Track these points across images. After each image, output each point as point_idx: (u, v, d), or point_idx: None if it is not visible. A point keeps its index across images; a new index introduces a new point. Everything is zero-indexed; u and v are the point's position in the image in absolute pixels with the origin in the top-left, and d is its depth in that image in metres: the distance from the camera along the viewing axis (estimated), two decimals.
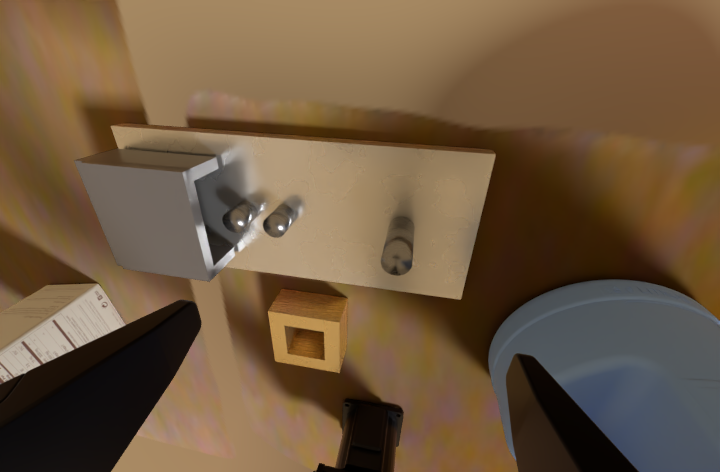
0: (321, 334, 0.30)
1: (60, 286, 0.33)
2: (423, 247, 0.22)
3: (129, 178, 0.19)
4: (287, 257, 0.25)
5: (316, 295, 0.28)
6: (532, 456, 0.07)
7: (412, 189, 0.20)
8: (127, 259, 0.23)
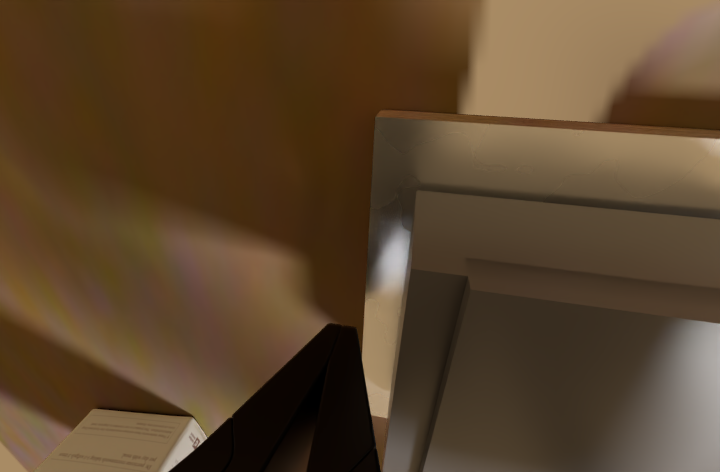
0: None
1: (120, 419, 0.18)
2: None
3: (715, 368, 0.04)
4: None
5: None
6: None
7: None
8: None
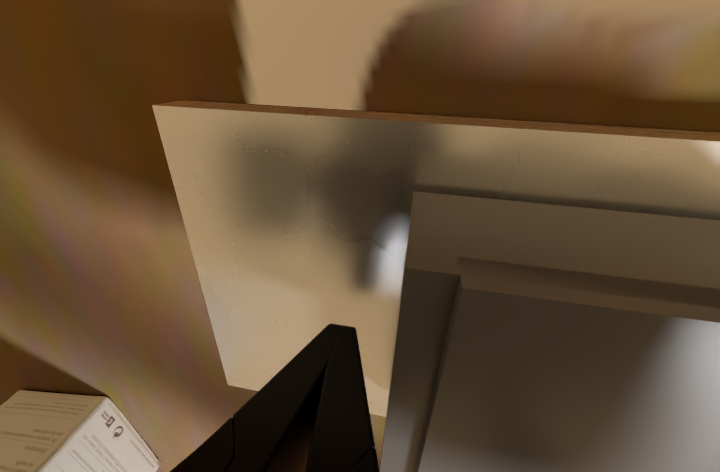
0: None
1: (40, 398, 0.19)
2: None
3: (700, 364, 0.04)
4: None
5: None
6: None
7: None
8: None
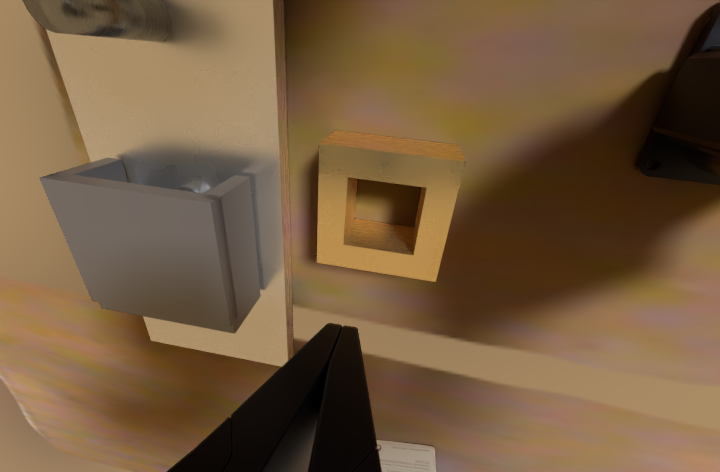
0: (421, 190, 0.16)
1: None
2: None
3: (83, 253, 0.16)
4: None
5: None
6: None
7: None
8: (211, 313, 0.16)
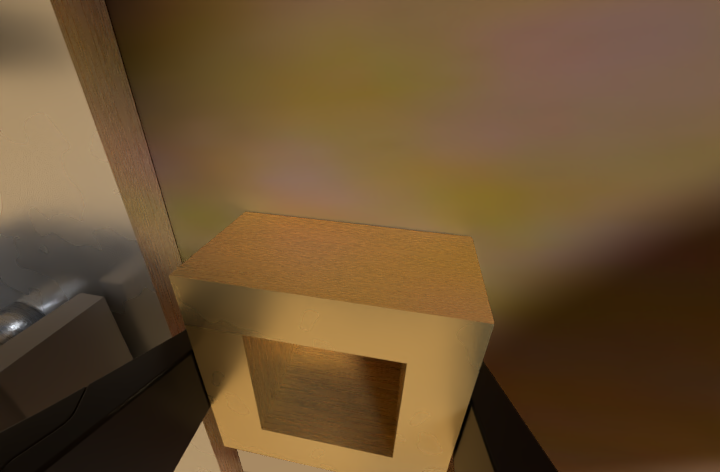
0: None
1: None
2: None
3: None
4: (129, 340, 0.10)
5: None
6: (461, 442, 0.07)
7: None
8: None
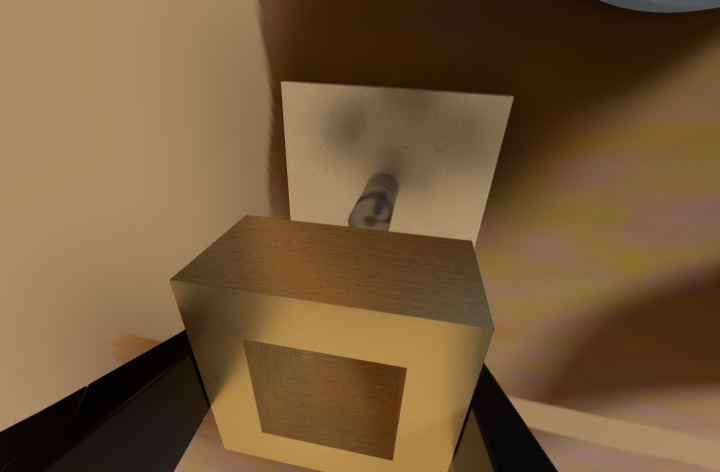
0: None
1: None
2: (410, 161, 0.16)
3: None
4: None
5: None
6: (461, 442, 0.07)
7: (331, 175, 0.18)
8: None
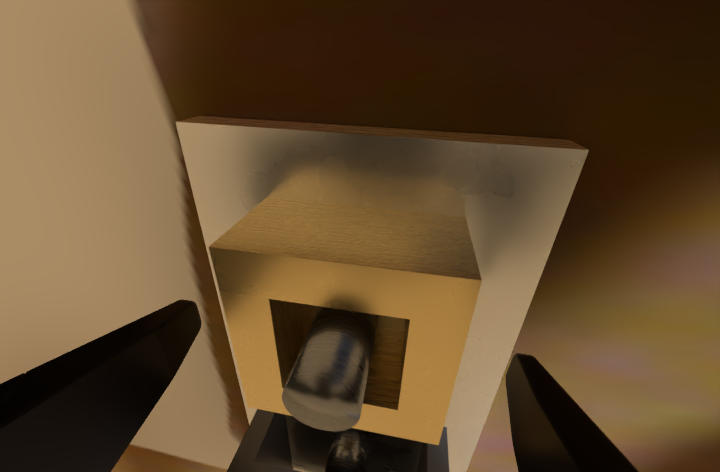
0: None
1: None
2: None
3: None
4: None
5: None
6: (532, 456, 0.07)
7: None
8: None
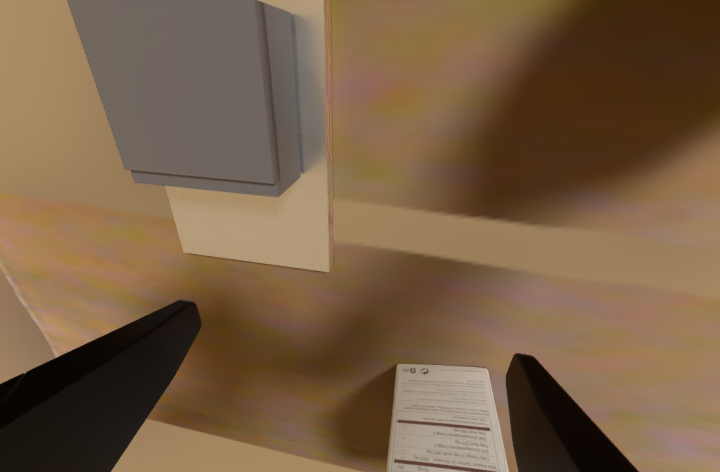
0: None
1: None
2: None
3: (115, 101, 0.14)
4: None
5: None
6: (532, 456, 0.07)
7: None
8: (253, 167, 0.15)
